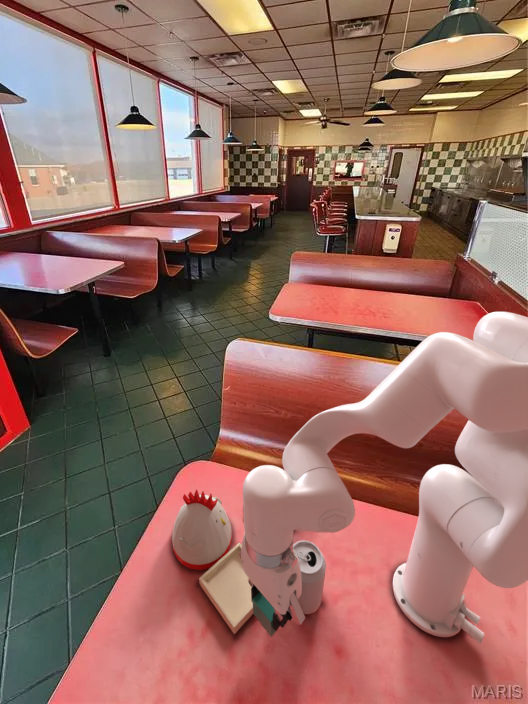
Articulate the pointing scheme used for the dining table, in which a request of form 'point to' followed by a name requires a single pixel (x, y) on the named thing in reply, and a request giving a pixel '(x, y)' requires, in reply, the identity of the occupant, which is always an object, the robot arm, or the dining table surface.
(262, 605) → the block
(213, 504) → the kitchen timer
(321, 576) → the can
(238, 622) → the cream tray
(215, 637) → the dining table surface
